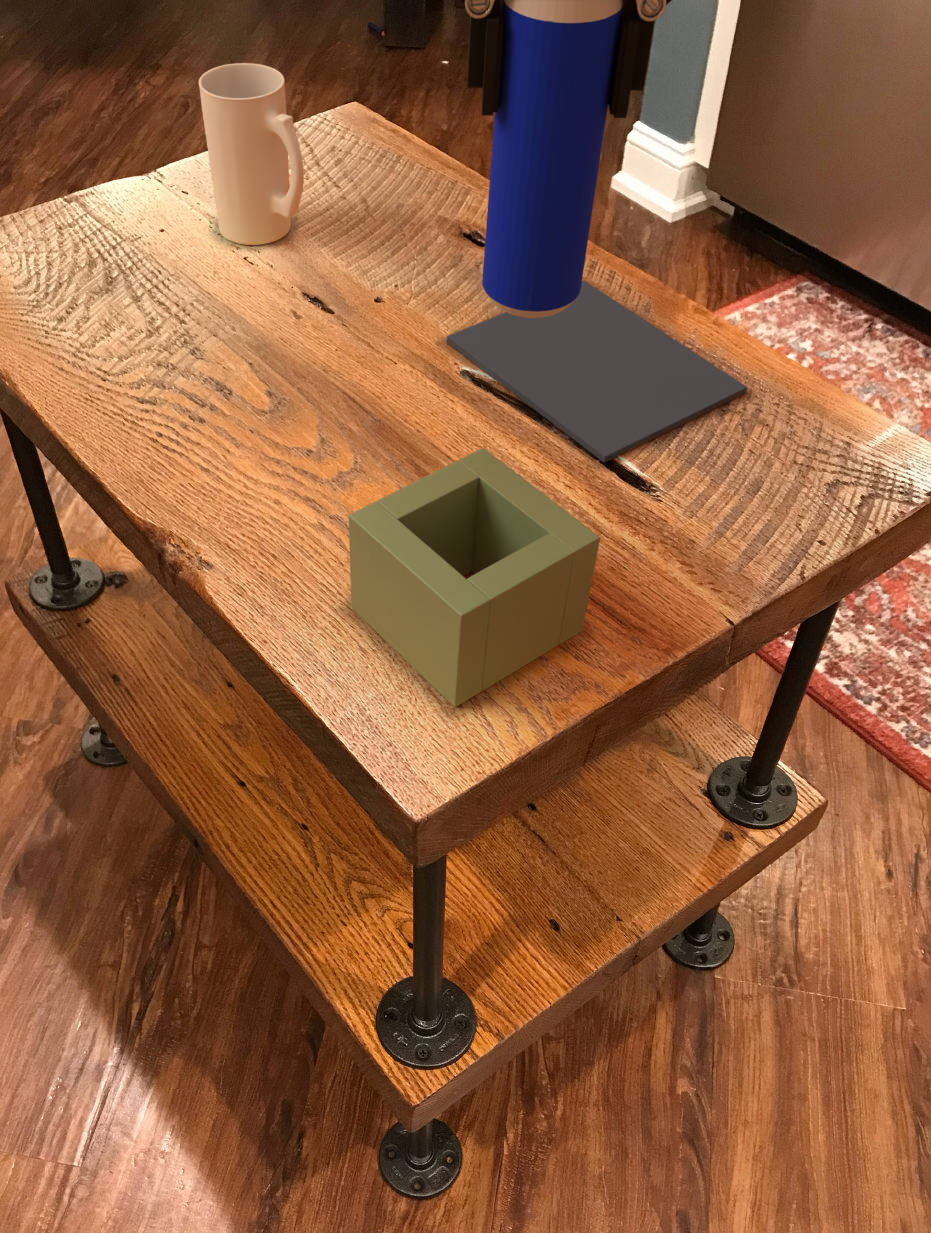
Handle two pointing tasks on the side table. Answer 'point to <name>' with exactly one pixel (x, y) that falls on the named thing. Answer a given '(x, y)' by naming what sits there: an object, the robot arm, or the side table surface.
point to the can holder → (456, 545)
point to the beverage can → (547, 150)
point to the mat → (598, 372)
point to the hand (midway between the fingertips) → (552, 100)
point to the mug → (251, 152)
